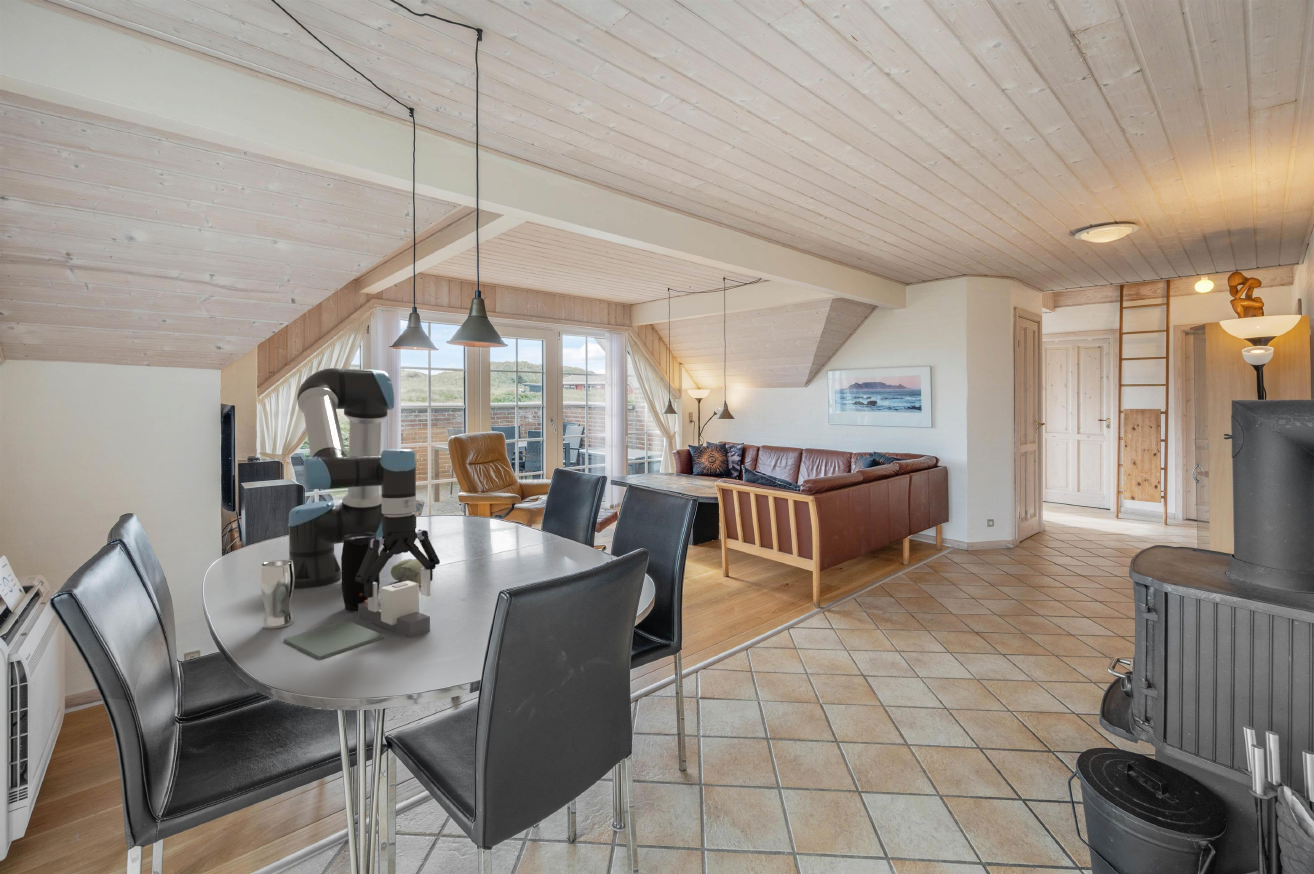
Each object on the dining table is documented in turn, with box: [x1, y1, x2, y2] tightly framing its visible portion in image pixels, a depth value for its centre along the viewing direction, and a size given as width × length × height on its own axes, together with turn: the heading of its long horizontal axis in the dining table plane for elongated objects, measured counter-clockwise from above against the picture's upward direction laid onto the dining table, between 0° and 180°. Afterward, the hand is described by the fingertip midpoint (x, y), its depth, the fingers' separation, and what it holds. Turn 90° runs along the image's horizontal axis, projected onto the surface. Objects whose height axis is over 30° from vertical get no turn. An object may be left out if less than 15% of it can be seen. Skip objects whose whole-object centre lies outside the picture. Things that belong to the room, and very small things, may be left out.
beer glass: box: [259, 558, 295, 630], centre depth 139 cm, size 7×7×15 cm
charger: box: [380, 581, 420, 625], centre depth 139 cm, size 4×7×8 cm, turn 146°
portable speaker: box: [340, 532, 381, 612], centre depth 152 cm, size 8×9×19 cm
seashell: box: [390, 558, 425, 586], centre depth 174 cm, size 13×8×10 cm
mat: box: [283, 620, 385, 660], centre depth 131 cm, size 16×14×1 cm
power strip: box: [357, 598, 431, 638], centre depth 140 cm, size 22×5×4 cm, turn 56°
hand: (400, 602), depth 138 cm, fingers open, 13 cm apart
